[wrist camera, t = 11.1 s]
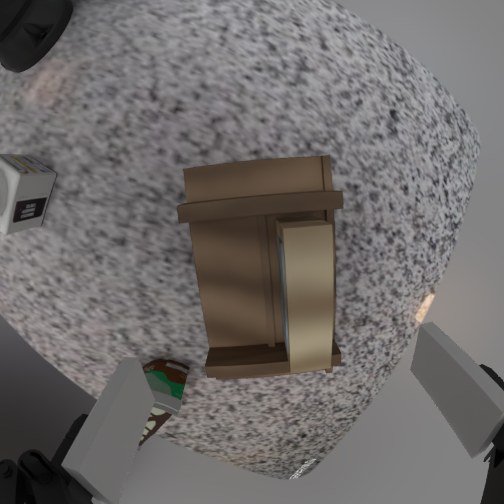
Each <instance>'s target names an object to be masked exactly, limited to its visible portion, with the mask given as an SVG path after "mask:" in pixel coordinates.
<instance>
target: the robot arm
mask: <svg viewBox="0 0 504 504" xmlns="http://www.w3.org/2000/svg"><path fill="white" fill-rule="evenodd" d="M71 13H72V2H71V0H0V63H1V65H2V66H3V67H4V68H5V69H7V70H10V71H13V72H21V71H24V70H26V69H28V68H30V67H31V66H32V65H34V64H35V63H36V62H37V61H39V60H40V59H41V58H42V57H43V56H44V55H45V54H46V53H47V52H48V51H49V49H50V48H51V47H52V46H53V45H54V43H55V42H56V41H57V39H58V38H59V37H60V35H61V34H62V32H63V30H64V29H65V27H66V25H67V23H68V21H69V19H70V16H71ZM410 370H411V371H412V373H413V374H414V375H415V377H416V378H417V379H418V380H419V382H420V383H421V385H422V386H423V387H424V389H425V390H426V392H427V393H428V394H429V396H430V397H431V399H432V400H433V401H434V403H435V404H436V406H437V407H438V408H439V410H440V411H441V413H442V414H443V416H444V417H445V419H446V420H447V422H448V423H449V425H450V426H451V427H452V429H453V430H454V432H455V433H456V435H457V437H458V438H459V440H460V441H461V443H462V444H463V446H464V447H465V449H466V450H467V452H468V453H469V455H470V457H471V458H472V459H473V458H474V457H476V456H478V455H479V454H480V453H482V452H484V451H485V450H486V449H487V447H488V446H489V445H490V443H491V442H493V444H494V447H493V448H492V449H491V450H490V452H489V453H488V454H487V456H486V457H485V459H484V462H485V461H486V460H487V459H488V458H489V457H490V455H491V457H490V460H489V462H490V464H489V470H488V475H487V479H486V484H485V488H484V492H483V496H482V500H481V504H504V382H503V380H502V379H501V378H500V377H498V375H497V374H496V373H495V372H494V371H493V370H492V369H491V368H489V367H487V366H485V365H483V364H481V365H478V364H477V363H475V361H474V360H473V359H472V358H471V357H470V356H469V355H468V354H467V353H466V352H464V351H463V350H462V349H461V348H460V347H459V346H458V345H457V344H456V343H455V342H454V341H453V340H452V339H450V338H449V337H448V336H447V335H446V334H445V333H444V332H443V331H441V329H440V328H438V327H437V326H436V325H435V324H434V323H433V322H429V323H425V324H422V325H420V328H419V333H418V338H417V343H416V348H415V352H414V356H413V361H412V365H411V369H410ZM154 402H155V398H154V396H153V394H152V391H151V389H150V387H149V384H148V382H147V379H146V377H145V374H144V372H143V369H142V366H141V364H140V361H139V358H130V357H124V358H123V360H122V362H121V363H120V365H119V366H118V368H117V369H116V371H115V373H114V374H113V376H112V377H111V379H110V381H109V382H108V384H107V386H106V387H105V389H104V391H103V392H102V394H101V395H100V397H99V399H98V400H97V402H96V404H95V406H94V407H93V409H92V411H91V412H90V414H89V415H86V414H82V415H81V416H80V417H79V418H77V419H76V420H75V421H74V423H73V424H72V426H71V428H70V431H68V433H67V434H66V436H65V437H66V438H64V439H63V441H62V443H61V444H60V446H59V448H58V450H57V451H56V453H55V455H54V457H53V458H52V461H51V462H50V461H49V460H48V459H47V458H46V457H45V456H44V455H43V454H42V453H41V452H40V451H38V450H28V451H26V452H24V453H23V454H22V455H21V456H20V458H19V460H18V466H17V465H16V463H14V462H13V461H12V460H9V459H5V460H2V461H0V504H24V503H25V504H93V503H92V501H91V499H92V497H95V498H96V499H97V500H98V501H99V502H101V503H104V504H118V503H119V500H120V497H121V494H122V491H123V488H124V485H125V482H126V479H127V476H128V473H129V470H130V468H131V465H132V462H133V459H134V456H135V453H136V451H137V448H138V445H139V442H140V440H141V437H142V434H143V431H144V429H145V426H146V423H147V421H148V418H149V415H150V413H151V410H152V407H153V405H154Z"/></svg>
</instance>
